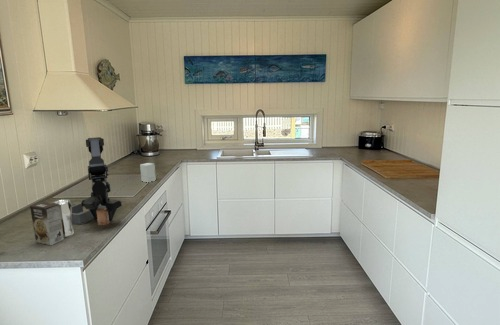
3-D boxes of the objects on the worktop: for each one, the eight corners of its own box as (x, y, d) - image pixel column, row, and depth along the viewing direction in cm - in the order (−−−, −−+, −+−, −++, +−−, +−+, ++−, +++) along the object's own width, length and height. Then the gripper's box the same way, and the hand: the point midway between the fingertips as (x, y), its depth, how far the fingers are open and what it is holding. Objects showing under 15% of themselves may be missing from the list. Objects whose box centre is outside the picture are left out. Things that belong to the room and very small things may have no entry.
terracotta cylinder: (103, 220, 154) (101, 207, 152) (111, 221, 152) (110, 208, 151) (95, 224, 149) (93, 210, 148) (104, 225, 148) (102, 211, 146)
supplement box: (156, 180, 227) (154, 163, 224) (147, 183, 221) (146, 165, 218) (149, 179, 231) (148, 162, 229) (141, 181, 225) (139, 164, 223)
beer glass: (55, 239, 134) (50, 205, 131) (58, 232, 141) (53, 200, 138) (74, 236, 137) (69, 203, 134) (76, 230, 143) (71, 198, 140)
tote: (87, 209, 170) (86, 200, 169) (108, 212, 165) (107, 203, 164) (58, 221, 154) (57, 211, 153) (80, 224, 149) (79, 214, 148)
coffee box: (35, 242, 131) (28, 205, 128) (49, 236, 137) (44, 200, 134) (50, 245, 128) (44, 208, 125) (64, 239, 134) (59, 203, 131)
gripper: (69, 192, 143) (74, 224, 146) (102, 195, 137) (106, 229, 140) (89, 185, 153) (93, 216, 156) (120, 188, 147) (123, 220, 150)
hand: (103, 220), depth 150 cm, fingers open, 8 cm apart
